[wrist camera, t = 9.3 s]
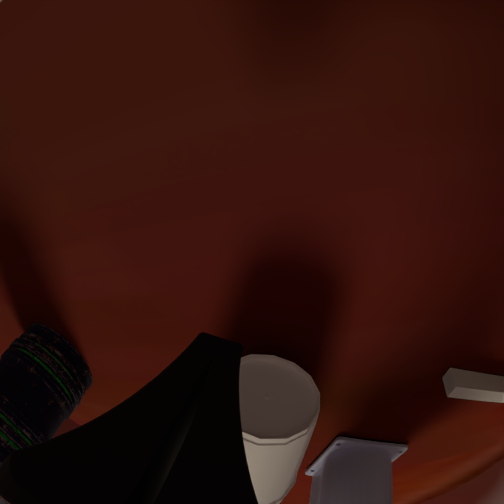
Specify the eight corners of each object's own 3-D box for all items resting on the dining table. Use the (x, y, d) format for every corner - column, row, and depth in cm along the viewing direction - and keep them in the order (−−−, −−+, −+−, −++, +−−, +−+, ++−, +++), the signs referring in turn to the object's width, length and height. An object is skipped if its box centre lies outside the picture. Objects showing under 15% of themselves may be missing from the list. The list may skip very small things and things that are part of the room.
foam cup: (267, 319, 23) (242, 414, 29) (153, 373, 17) (164, 459, 23) (372, 400, 17) (311, 476, 24) (267, 499, 11) (235, 536, 18)
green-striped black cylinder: (63, 388, 33) (4, 470, 20) (16, 327, 30) (-57, 407, 17) (109, 389, 30) (42, 496, 17) (53, 316, 26) (-40, 422, 13)
